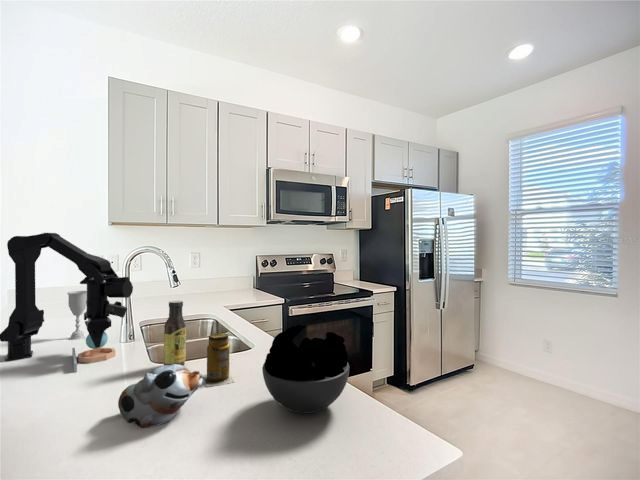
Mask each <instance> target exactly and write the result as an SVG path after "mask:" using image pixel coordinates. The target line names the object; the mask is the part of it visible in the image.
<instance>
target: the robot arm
mask: <svg viewBox="0 0 640 480" xmlns="http://www.w3.org/2000/svg"><path fill="white" fill-rule="evenodd" d="M6 243H7V244H6V247H7V252H8V256H9V258H11V260H12V261H13V263H14V282H15V283H14V287H15V295H14V296H15V299H14V300H15V308H14V309H13V311H12V313H11V314H10V316H9V318H8V324H7V326H6V328H5V329H4V330H2V331H1V332H0V342H2V343H4V342H5V343H6V342H7V354H6V356H5V358H4V361H5V362H7V361H14V360H19V359H20V360H21V359H25V358H32V357H33V354H34V350H32V336H35V335H38V333H39V331H40V329H41V328H42V326H43V323H44V322H45V318H44V314H45V311H44V309H39V308H38V306H37V305H36V304H37V303H36V262H37V261H38V259H39V257H40V256H41V253H42V249H46V248H49V249H51V250H53V251H54V252H56V253H58V254H59V255H60V256H62V257H64V258H66V259H67V260H69V261H70V262H72V263H73V264H75V265H76V267H77V268H78V270H79V272H81V273H82V274H83V275H84V276H85V277H84V278H83V279H82V280H81V281H80V282H79V285H86V291H87V300H86V304H87V305H86V311H85V312H83V320H84V325H85V326H86V330H87V333H88V335H90V337H91V339H92V341H93V343H94V345H95V347H96V348H97V347H100V344H101V340H102V337H103V333H104V332H106V331H107V330H108V329H109V328H111V327H112V320H111V318H110V315H111V316H116V317H120V318H125V317H126V313H127V311H128V308H127V307H126V306H125V305H123V304H122V302H121V301H117V300H116V301H115V302H114V303H110V300H109V299H108V298H111V299H113V298H116V299H117V298H118V299H119V298H120V299H122V298H125V299H128V298H130V297H131V296H132V294H133V289H134V286H133V283H132V281H130V277H129V276H124V277H123V276H121V277H119V275H118V274H117V273H116V272H115V270H114V269H113V267H112V266H111V265H112V263H111V262H110V261H109V260H108V259H105V258H103V257H100V256H98V255H94V254H90V253H88V252H86V251H84V250H83V249H81V247H79V246H77V245H74V244H73V243H72V242H70V241H68V240H67V239H65V238H63V236H61V235H60V234H59V233H56V232H43V233H39V234H33V235H15V236H13V237H10V239H9V240H7V242H6Z"/></svg>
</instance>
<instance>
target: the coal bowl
mask: <svg viewBox="0 0 640 480" xmlns="http://www.w3.org/2000/svg"><path fill="white" fill-rule="evenodd" d="M307 327H308V325H301V324H298V325H294V326H290V327H288V328H287V329H285V330H284V331H283V332H278V334H276V335H275V337H274V338H273V340H272V343H271V346H270V348H269V352H268V353H267V354H266V357H265V360H264V363H263V365H262V376H263V381H264V383H265V387H266V389H267V391H268V392H269V394H270V396H271V397H272V398H273V399H274V400H275V401H276V403H278V404H279V405H281V406H282V407H283V408H285V409H287V410H289V411H292V412H295V413H299V414H300V413H301V414H310V413H312V414H313V413H316V412H318V411H322V410H324V409H326V408H328V407H329V406H330V405H332V404H333V403H335V401H336V400H338V398H339V397H340V396H341V394H342V393H343V392H344V389H345V387H346V384H347V383H348V379H349V374H350V364H349V362H348V358H349V356H348V352H347V347H346V345H345V341H346V339H345V338H344V336H341V335H338V334H336V332H332V331H327V332H326V333H325V338H321V337H320V338H319V337H312V338H311V339H310V338H309V337H305V338H303V339H302V340H301V342H300V344H299V346H298V345H297V344H296V343H294V342H293V341H294V339H295V337H297V335H299V334H300V333H301V332H302V331H303V330H304V329H305V328H307Z"/></svg>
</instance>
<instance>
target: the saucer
mask: <svg viewBox="0 0 640 480" xmlns="http://www.w3.org/2000/svg"><path fill="white" fill-rule="evenodd" d="M115 356H116V348H114V347H101V348H99V349H91V348H90V349H87V350H84V351H83V352H80V353H78V354H77V362H78V363H80V362H84V363H87V364H93V363H97V362H103V361H107V360H109V359H111V358H114V357H115ZM84 363H83V364H84Z"/></svg>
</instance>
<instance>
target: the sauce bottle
mask: <svg viewBox="0 0 640 480" xmlns="http://www.w3.org/2000/svg"><path fill="white" fill-rule="evenodd" d="M183 306H184V301H183V300H171V301H170V300H169V301H168V318H167V320H166V321H165V323H164V331H163V332H164V333H163V351H162V352H163V353H162V354H163V355H162V356H163V357H162V362H163V366H164V365H173V364H178V365H182V366H184V367H185V363H186V352H187V351H186V350H187V349H186V348H187V347H186V346H187V326H186V323H185V320H184V317H183Z"/></svg>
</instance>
